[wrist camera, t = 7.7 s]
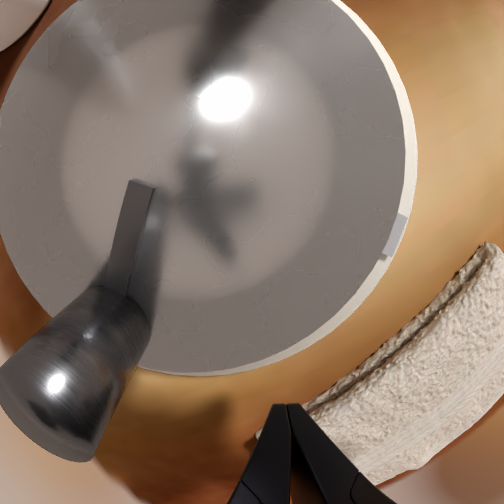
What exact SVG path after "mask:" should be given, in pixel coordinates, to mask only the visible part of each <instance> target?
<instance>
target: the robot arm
mask: <svg viewBox="0 0 504 504" xmlns="http://www.w3.org/2000/svg"><path fill="white" fill-rule="evenodd" d="M290 493H291V498H292V503H293V504H397V503H395V502H394V501H393V500H391V499H390V498H389V497H387V496H386V495H385V494H384V493H382V492H381V491H380V490H379V489H378V488H376V487H375V486H374V485H373V484H372V483H371V482H370V481H369V480H368V479H367V478H366V477H365V476H364V475H363V474H362V473H361V472H359V470H358V468H357V467H356V466H355V465H354V464H353V463H352V462H351V461H350V460H349V459H348V458H347V457H346V456H345V455H344V453H343V452H342V451H341V450H340V449H339V448H338V447H337V446H336V445H335V444H334V442H333V441H332V440H331V439H330V438H329V437H328V436H327V435H326V434H325V432H324V431H323V430H322V429H321V428H320V427H319V426H318V424H317V423H316V422H315V421H314V420H313V419H312V418H311V416H310V415H309V414H308V413H307V412H306V411H305V409H304V408H303V407H302V406H301V405H300V404H299V403H288V404H286V405H285V404H273V405H272V407H271V409H270V412H269V414H268V417H267V419H266V421H265V424H264V426H263V429H262V431H261V433H260V436H259V438H258V440H257V442H256V445H255V447H254V449H253V452H252V454H251V456H250V458H249V460H248V463H247V465H246V467H245V469H244V471H243V473H242V476H241V478H240V481H239V482H238V484H237V486H236V488H235V490H234V492H233V494H232V495H231V497H230V499H229V501H228V503H227V504H290Z"/></svg>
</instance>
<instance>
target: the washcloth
mask: <svg viewBox="0 0 504 504" xmlns="http://www.w3.org/2000/svg"><path fill="white" fill-rule="evenodd" d="M503 394H504V253H503V252H502V251H501V250H500V248H499V247H497V246H496V245H495V244H492V243H490V244H489V243H488V242H486V241H485V242H484V246H483V245H482V246H481V248H478V249H477V250H476V253H475V255H474V256H473V257H472V259H471V260H470V261H469V262H467V263H466V264H465V265H464V267H463V268H462V269H461V270H460V271H459V274H457V275H456V276H455V277H454V278H453V280H452V281H449V282H448V283H447V285H446V286H445V287H444V288H443V290H442V291H441V292H440V293H439V294H438V296H437V297H435V298H434V299H433V300H432V301H431V303H430V304H429V306H428V307H427V308H424V309H422V311H421V313H420V314H418V315H416V316H415V318H413V319H412V320H411V321H410V322H408V323H407V324H405V325H404V326H403V327H402V329H401V331H400V332H399V333H397V334H396V335H394V336H393V337H392V338H389V339H388V340H387V342H386V343H384V344H383V346H382V347H381V348H379V349H378V350H377V351H376V352H375V354H374V355H373V356H371V357H369V358H367V360H365V361H364V362H363V363H362V364H361V365H360V366H359V368H358V369H356V370H354V371H351V372H350V373H349V374H348V375H346V376H345V377H343V378H341V379H340V380H338V381H337V383H336V384H335V385H334V386H333V387H331V388H329V389H328V390H327V391H325V392H324V393H323V394H320V395H318V396H316V397H314V398H313V399H312V400H311V401H310V402H308V403H305V404H303V405H302V407H303V408H304V409H305V411H306V412H307V413H308V414H309V415H310V416H311V418H312V419H313V420H314V421H315V422H316V423H317V424H318V426H319V427H320V428H321V429H322V430H323V431H324V432H325V434H326V435H327V436H328V437H329V438H330V439H331V440H332V441H333V442H334V444H335V445H336V446H337V447H338V448H339V449H340V450H341V451H342V452H343V453H344V455H345V456H346V457H347V458H348V459H349V460H350V461H351V462H352V463H353V464H354V465H355V466H356V467H357V468H358V470H359V472H361V473H362V474H363V475H364V476H365V477H366V478H367V479H368V480H369V481H370V482H371V483H372V484H373V485H374V486H375V485H377V484H380V483H382V482H383V481H385V480H388V479H390V478H392V477H395V476H396V475H398V474H400V473H403V472H405V471H407V470H411V469H412V470H414V469H418V468H420V467H422V466H423V465H424V464H425V463H427V462H428V461H429V460H430V459H431V458H432V457H433V456H434V455H435V454H436V453H438V452H439V451H440V450H441V449H443V448H444V447H445V446H446V445H448V444H449V443H450V442H451V441H453V440H454V439H456V438H457V437H458V436H459V435H461V434H462V433H463V432H465V431H466V430H468V429H469V428H470V427H472V425H473V424H474V423H475V422H477V421H478V420H479V419H480V418H481V417H482V416H483V415H484V414H485V413H486V412H487V411H488V410H489V409H490V408H491V407H492V406H493V405H494V403H495V402H496V401H497V400H498V399H499V398H500V397H501V396H502V395H503ZM262 429H263V427H262V428H261V429H260V430H259V431H257V432H256V438H257V440H258V438H259V436H260V433H261V431H262Z"/></svg>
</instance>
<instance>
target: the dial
mask: <svg viewBox="0 0 504 504" xmlns="http://www.w3.org/2000/svg"><path fill="white" fill-rule="evenodd" d="M405 154H406V149H405V138H404V128H403V120H402V116H401V111H400V107H399V104H398V100H397V96H396V92H395V89H394V87H393V84H392V82H391V80H390V77H389V75H388V73H387V70H386V68H385V66H384V64H383V62H382V60H381V58H380V57H379V55H378V53H377V52H376V50H375V48H374V47H373V45H372V44H371V42H370V41H369V39H368V38H367V36H366V35H365V34H364V33H363V31H362V30H361V29H360V28H359V27H358V26H357V24H356V23H355V22H354V21H353V20H352V19H351V18H350V16H349V15H348V14H347V13H345V12H344V11H343V10H342V9H341V8H340V7H339V6H337V5H336V4H335V3H334V2H333V1H332V0H78V1H77V2H76V3H74V4H73V5H72V6H70V7H69V8H68V9H67V10H66V11H65V12H63V13H62V14H61V15H60V16H59V17H58V18H57V19H56V20H55V21H54V22H53V23H52V24H51V25H50V26H49V27H48V28H47V29H46V31H45V32H44V33H43V34H42V35H41V37H40V38H39V39H38V40H37V41H36V43H35V44H34V45H33V47H32V48H31V50H30V51H29V53H28V54H27V56H26V57H25V59H24V60H23V62H22V63H21V65H20V67H19V69H18V70H17V72H16V74H15V76H14V78H13V80H12V82H11V84H10V87H9V89H8V91H7V94H6V97H5V99H4V102H3V105H2V108H1V111H0V234H1V236H2V239H3V242H4V245H5V247H6V250H7V253H8V255H9V257H10V259H11V261H12V263H13V265H14V267H15V269H16V271H17V273H18V275H19V276H20V278H21V279H22V281H23V282H24V284H25V285H26V287H27V288H28V290H29V291H30V293H31V294H32V296H33V297H34V298H35V299H36V300H37V302H38V303H39V304H40V305H41V306H42V307H43V308H44V310H45V311H46V312H47V313H48V314H49V315H50V316H51V317H52V319H51V320H50V321H49V322H48V323H47V324H46V325H44V326H43V327H42V328H41V329H40V330H39V331H38V332H37V333H36V334H35V335H34V336H32V337H31V338H30V339H29V340H28V341H27V342H26V343H25V344H24V345H23V346H22V347H21V348H20V349H19V350H18V351H17V352H15V353H14V354H13V355H12V356H11V357H10V358H9V359H8V360H7V361H6V362H5V363H4V364H3V365H2V366H1V367H0V405H1V407H2V408H3V410H4V411H5V413H6V414H7V415H8V417H9V418H10V419H11V420H12V422H13V423H14V424H15V425H16V426H17V427H18V428H19V429H20V430H21V431H22V432H23V433H24V434H25V435H26V436H28V437H29V438H30V439H31V440H32V441H33V442H35V443H36V444H38V445H39V446H41V447H42V448H44V449H45V450H47V451H48V452H50V453H52V454H54V455H56V456H58V457H61V458H63V459H66V460H69V461H74V462H87V461H90V460H91V459H92V458H93V456H94V453H95V451H96V449H97V447H98V445H99V442H100V440H101V438H102V436H103V434H104V432H105V430H106V428H107V425H108V423H109V421H110V419H111V417H112V415H113V413H114V411H115V409H116V407H117V405H118V403H119V401H120V399H121V397H122V395H123V393H124V391H125V389H126V387H127V385H128V383H129V381H130V379H131V377H132V375H133V373H134V371H135V369H136V367H137V366H141V367H145V368H149V369H154V370H161V371H169V372H179V373H193V372H212V371H219V370H225V369H232V368H236V367H240V366H243V365H247V364H250V363H254V362H257V361H260V360H263V359H265V358H268V357H270V356H272V355H275V354H277V353H279V352H281V351H284V350H286V349H288V348H289V347H291V346H293V345H294V344H296V343H298V342H299V341H301V340H303V339H304V338H306V337H308V336H309V335H311V334H312V333H314V332H315V331H316V330H317V329H319V328H320V327H321V326H322V325H324V324H325V323H326V322H327V321H329V320H330V319H331V318H332V317H333V316H335V315H336V314H337V313H338V311H339V310H340V309H341V308H342V307H343V306H344V305H345V304H346V303H347V302H348V301H349V300H350V299H351V298H352V297H353V296H354V295H355V293H356V292H357V291H358V289H359V288H360V287H361V285H362V284H363V282H364V281H365V280H366V278H367V277H368V275H369V274H370V273H371V271H372V270H373V268H374V266H375V264H376V263H377V261H378V259H379V257H380V255H381V253H382V251H383V249H384V247H385V245H386V243H387V241H388V239H389V236H390V233H391V231H392V228H393V225H394V222H395V219H396V216H397V213H398V210H399V205H400V200H401V195H402V190H403V185H404V175H405Z"/></svg>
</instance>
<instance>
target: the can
mask: <svg viewBox="0 0 504 504" xmlns="http://www.w3.org/2000/svg"><path fill="white" fill-rule="evenodd" d="M50 1H51V0H0V51H2V50H4V49H6V48H8V47H9V46H11V45H12V44H13V43H15V42H16V41H17V40H18V39H20V38H21V37H22V36H23V35H24V34H25V33H26V32H27V31H28V30H29V29H30V28H31V27H32V26H33V25H34V23H35V22H36V21H37V20H38V18H39V17H40V16H41V15H42V13H43V12H44V10H45V9H46V7H47V6H48V4H49V2H50Z"/></svg>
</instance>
